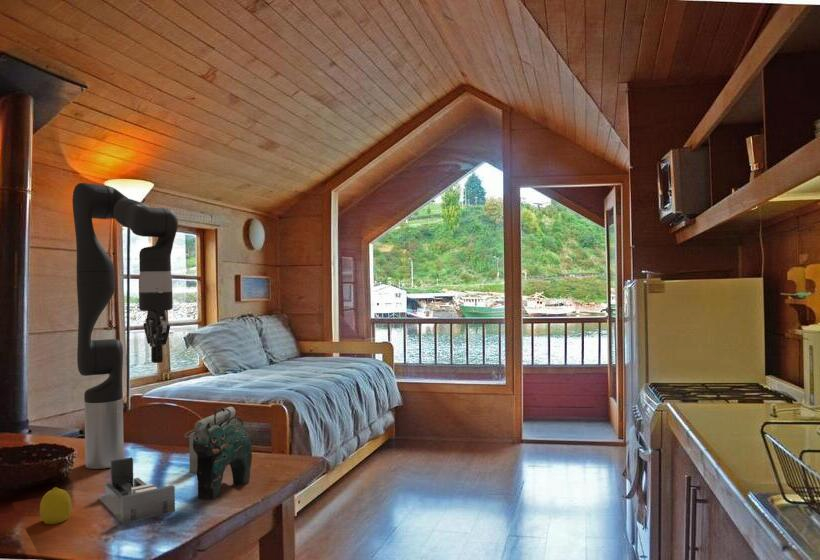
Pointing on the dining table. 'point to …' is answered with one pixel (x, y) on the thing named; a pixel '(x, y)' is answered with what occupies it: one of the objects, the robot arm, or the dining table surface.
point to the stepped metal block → (122, 475)
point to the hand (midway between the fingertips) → (157, 362)
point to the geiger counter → (220, 418)
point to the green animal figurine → (221, 455)
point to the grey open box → (139, 502)
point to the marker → (142, 488)
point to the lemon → (55, 506)
